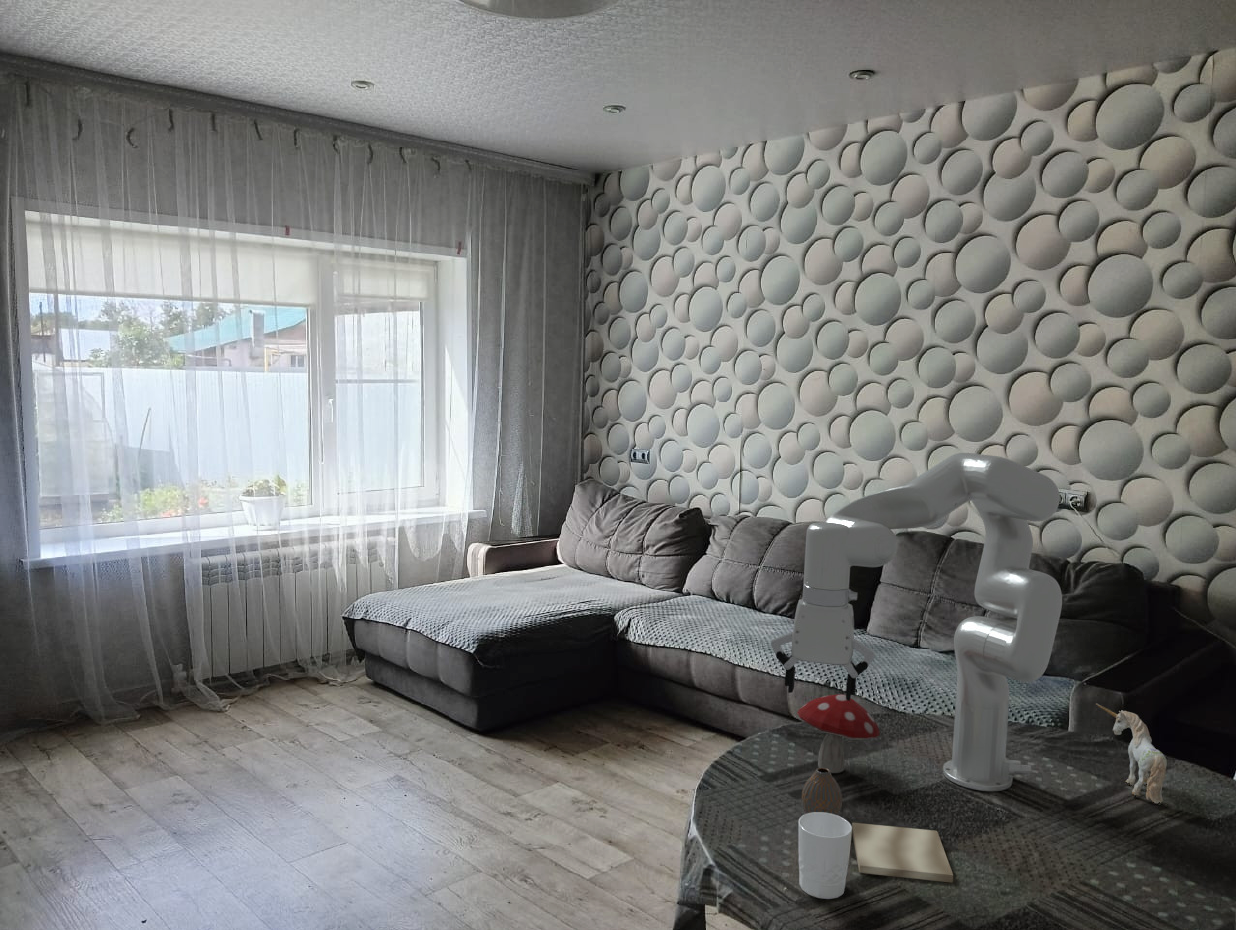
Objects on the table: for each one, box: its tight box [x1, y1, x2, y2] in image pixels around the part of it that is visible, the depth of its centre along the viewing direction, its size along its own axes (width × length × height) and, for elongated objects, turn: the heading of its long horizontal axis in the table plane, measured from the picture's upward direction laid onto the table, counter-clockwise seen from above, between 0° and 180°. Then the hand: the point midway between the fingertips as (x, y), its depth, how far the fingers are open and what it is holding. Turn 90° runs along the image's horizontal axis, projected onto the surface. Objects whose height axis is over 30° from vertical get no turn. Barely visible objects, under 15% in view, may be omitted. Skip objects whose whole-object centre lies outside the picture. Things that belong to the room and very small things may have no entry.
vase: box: [801, 767, 843, 816], centre depth 162 cm, size 7×7×9 cm
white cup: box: [797, 812, 853, 900], centre depth 140 cm, size 8×8×10 cm
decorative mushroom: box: [796, 693, 881, 774], centre depth 182 cm, size 16×16×15 cm
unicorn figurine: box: [1095, 703, 1168, 804], centre depth 176 cm, size 7×20×13 cm, turn 4°
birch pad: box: [851, 822, 954, 883], centre depth 151 cm, size 14×14×1 cm
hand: (819, 694), depth 158 cm, fingers open, 9 cm apart
